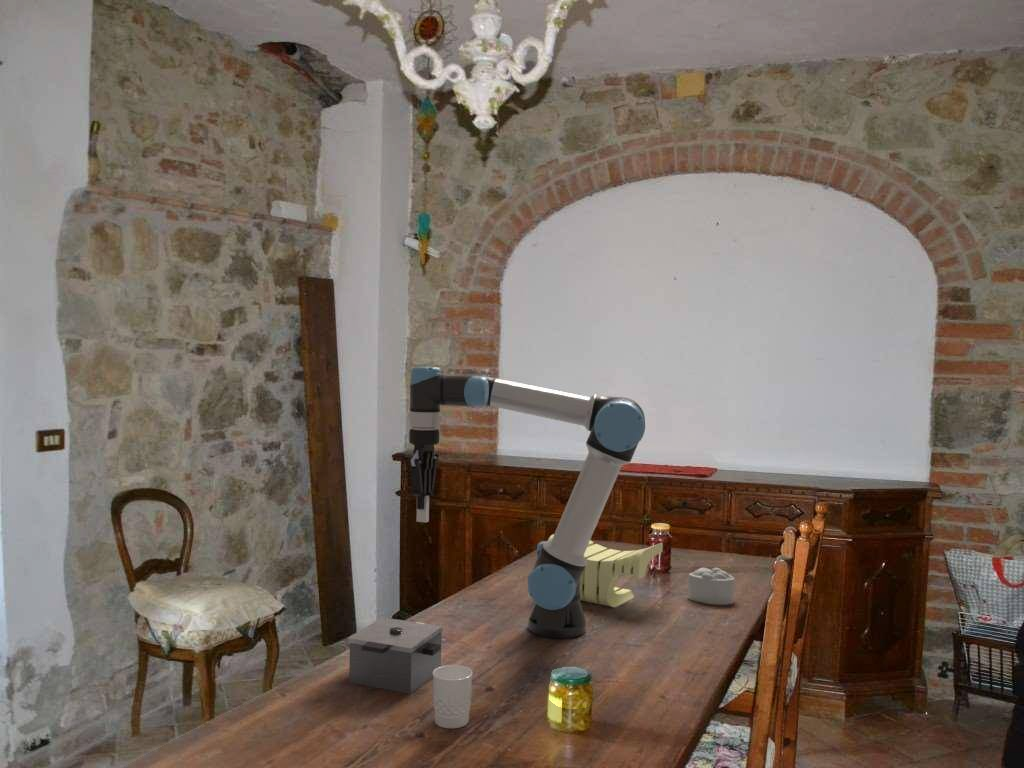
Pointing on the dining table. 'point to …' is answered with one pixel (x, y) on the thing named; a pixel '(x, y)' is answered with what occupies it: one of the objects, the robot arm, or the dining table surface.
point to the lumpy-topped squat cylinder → (711, 586)
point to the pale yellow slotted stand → (612, 572)
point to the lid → (394, 635)
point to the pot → (395, 666)
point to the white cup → (452, 695)
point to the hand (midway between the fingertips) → (422, 521)
